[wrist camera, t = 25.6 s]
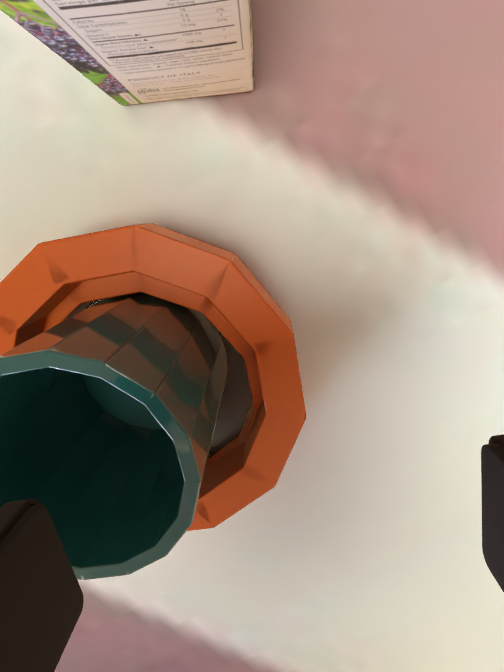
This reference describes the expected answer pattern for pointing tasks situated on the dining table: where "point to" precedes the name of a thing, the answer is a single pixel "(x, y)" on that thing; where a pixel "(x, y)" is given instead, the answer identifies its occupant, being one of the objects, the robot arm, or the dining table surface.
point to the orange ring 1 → (168, 292)
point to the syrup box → (147, 44)
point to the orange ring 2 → (230, 300)
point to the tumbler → (113, 427)
